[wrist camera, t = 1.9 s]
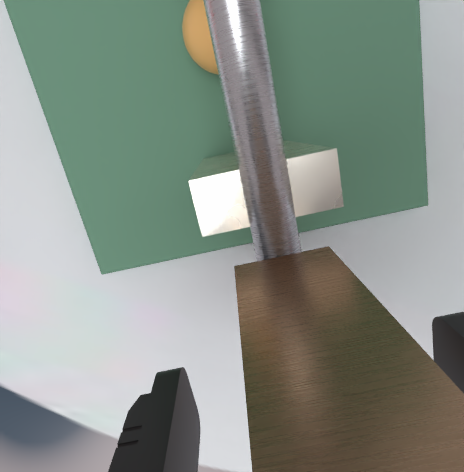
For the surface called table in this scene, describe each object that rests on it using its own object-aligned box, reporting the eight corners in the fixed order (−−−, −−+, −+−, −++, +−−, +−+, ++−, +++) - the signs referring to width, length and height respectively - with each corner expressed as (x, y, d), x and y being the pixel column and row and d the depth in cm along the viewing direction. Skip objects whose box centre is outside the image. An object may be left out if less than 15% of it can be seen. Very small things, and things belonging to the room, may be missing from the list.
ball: (250, -9, 18) (257, -45, 15) (263, 71, 20) (274, 56, 16) (178, 8, 19) (166, -23, 15) (196, 86, 20) (189, 76, 16)
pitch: (394, -288, 16) (405, -314, 15) (419, 202, 23) (428, 205, 22) (-48, -170, 17) (-64, -188, 16) (106, 268, 24) (101, 274, 23)
